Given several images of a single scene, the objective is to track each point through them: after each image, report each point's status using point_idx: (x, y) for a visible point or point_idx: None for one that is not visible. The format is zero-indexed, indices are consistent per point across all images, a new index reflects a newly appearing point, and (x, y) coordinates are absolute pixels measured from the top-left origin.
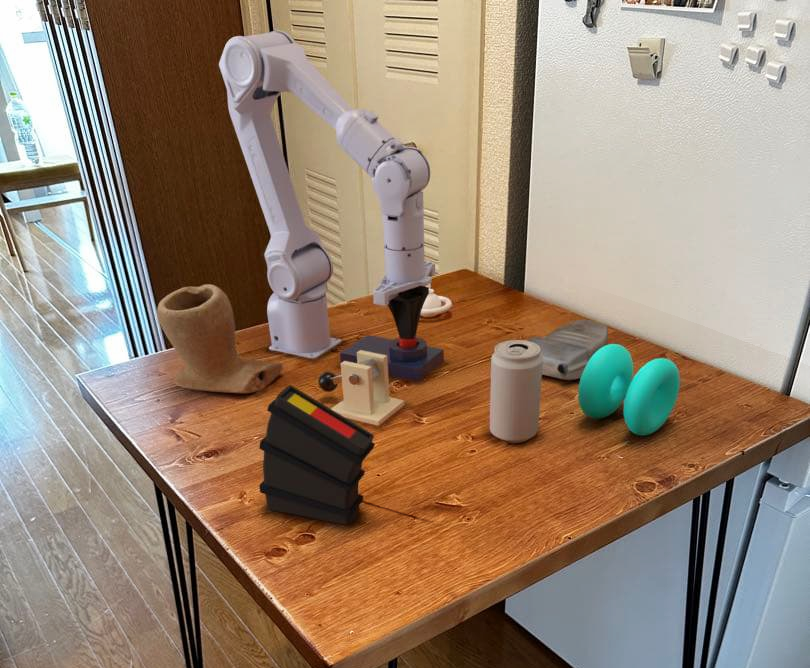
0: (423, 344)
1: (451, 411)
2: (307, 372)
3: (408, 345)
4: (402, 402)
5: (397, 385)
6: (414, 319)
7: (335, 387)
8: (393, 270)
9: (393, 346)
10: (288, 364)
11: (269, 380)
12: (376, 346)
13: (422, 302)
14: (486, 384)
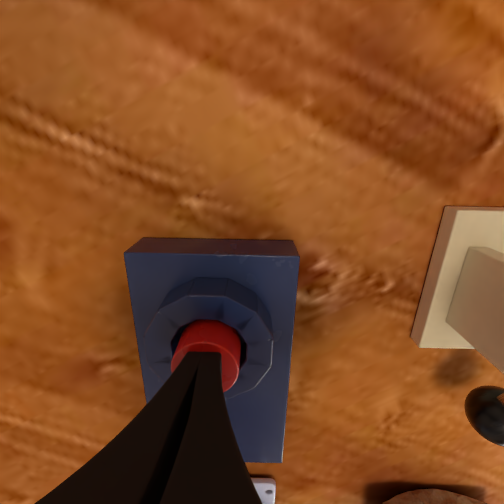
0: (188, 307)
1: (445, 49)
2: (329, 463)
3: (235, 342)
4: (470, 209)
5: (324, 283)
6: (199, 410)
7: (500, 388)
8: None
9: (249, 378)
10: (308, 500)
11: (421, 498)
12: None
13: (100, 483)
14: (210, 26)
